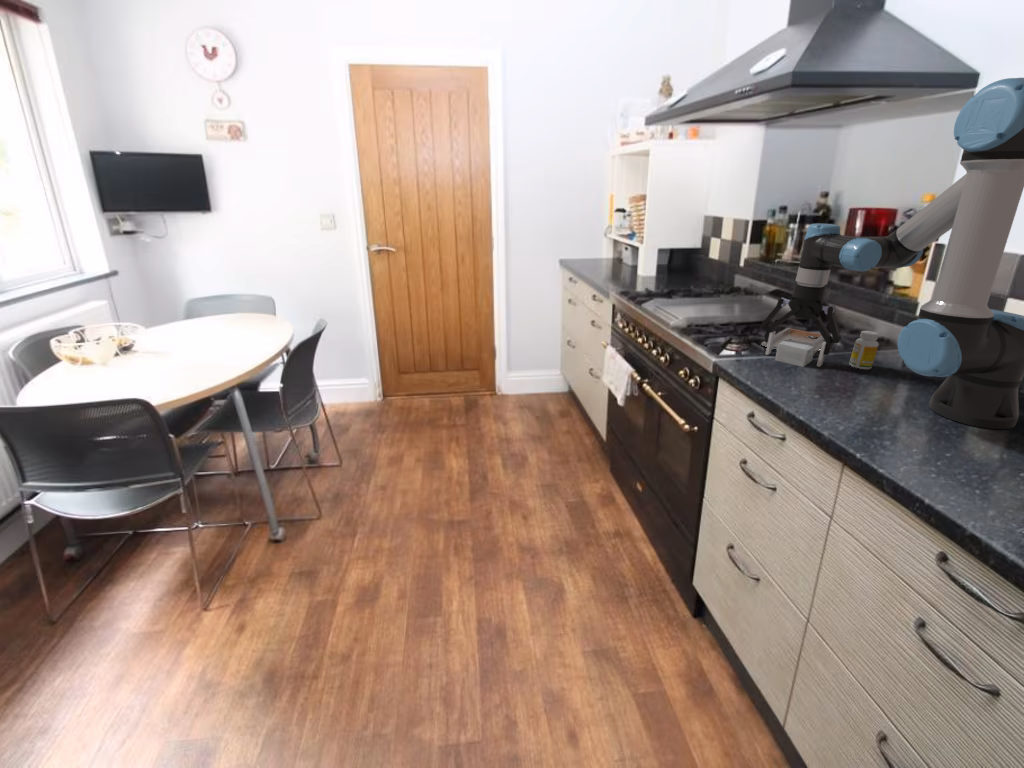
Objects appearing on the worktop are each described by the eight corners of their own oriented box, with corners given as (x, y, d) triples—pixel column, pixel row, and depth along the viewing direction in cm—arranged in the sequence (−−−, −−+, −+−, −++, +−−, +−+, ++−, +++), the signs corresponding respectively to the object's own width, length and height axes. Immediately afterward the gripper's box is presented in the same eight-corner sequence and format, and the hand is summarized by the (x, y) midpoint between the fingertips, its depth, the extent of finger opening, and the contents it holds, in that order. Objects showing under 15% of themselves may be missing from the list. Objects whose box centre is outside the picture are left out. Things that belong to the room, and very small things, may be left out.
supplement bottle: (845, 365, 148) (854, 332, 144) (853, 361, 151) (862, 328, 148) (867, 371, 144) (877, 336, 141) (874, 367, 147) (884, 333, 144)
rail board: (810, 357, 154) (812, 349, 153) (760, 346, 162) (762, 339, 161) (828, 343, 168) (830, 335, 167) (781, 333, 176) (783, 326, 175)
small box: (804, 367, 146) (808, 349, 144) (774, 360, 151) (777, 343, 149) (812, 361, 151) (816, 343, 149) (783, 354, 156) (787, 337, 154)
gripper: (867, 289, 138) (846, 367, 146) (767, 275, 154) (752, 346, 162) (860, 294, 133) (839, 374, 141) (757, 278, 148) (743, 351, 156)
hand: (793, 359), depth 151 cm, fingers open, 13 cm apart
